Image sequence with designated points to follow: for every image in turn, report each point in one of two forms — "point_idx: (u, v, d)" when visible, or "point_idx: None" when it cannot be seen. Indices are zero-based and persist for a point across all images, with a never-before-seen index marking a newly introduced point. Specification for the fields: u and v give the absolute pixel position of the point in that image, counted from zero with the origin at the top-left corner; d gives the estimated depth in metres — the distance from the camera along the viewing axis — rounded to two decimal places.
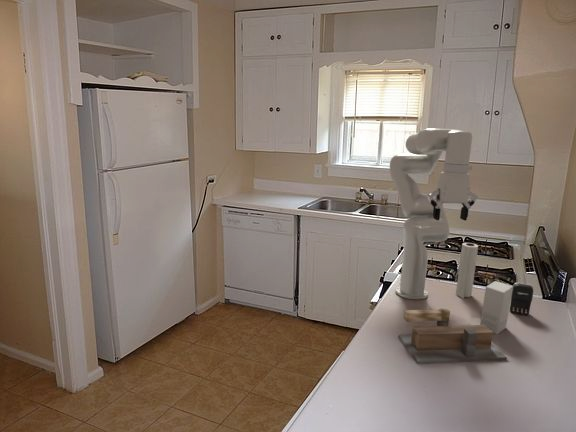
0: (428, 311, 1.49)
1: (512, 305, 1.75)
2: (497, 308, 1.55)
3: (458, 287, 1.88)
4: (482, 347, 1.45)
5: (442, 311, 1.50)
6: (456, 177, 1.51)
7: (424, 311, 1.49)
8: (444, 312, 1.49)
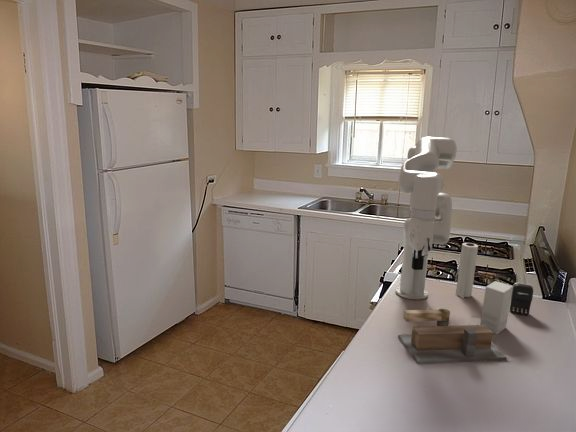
0: (428, 311, 1.49)
1: (512, 305, 1.75)
2: (497, 308, 1.55)
3: (458, 287, 1.88)
4: (482, 347, 1.45)
5: (442, 311, 1.50)
6: None
7: (424, 311, 1.49)
8: (444, 312, 1.49)
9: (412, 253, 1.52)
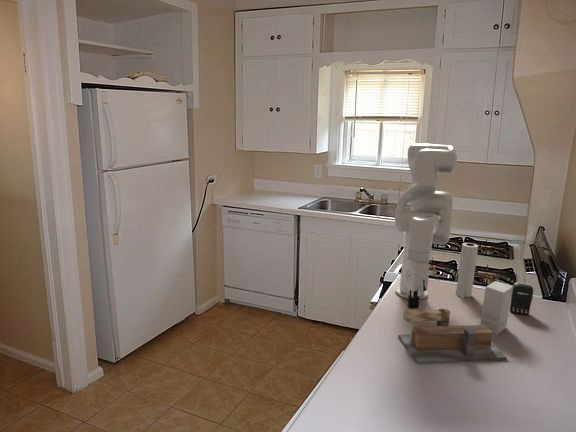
0: (428, 311, 1.49)
1: (512, 305, 1.75)
2: (497, 308, 1.55)
3: (458, 287, 1.88)
4: (482, 347, 1.45)
5: (442, 311, 1.50)
6: None
7: (424, 311, 1.49)
8: (444, 312, 1.49)
9: (408, 292, 1.55)
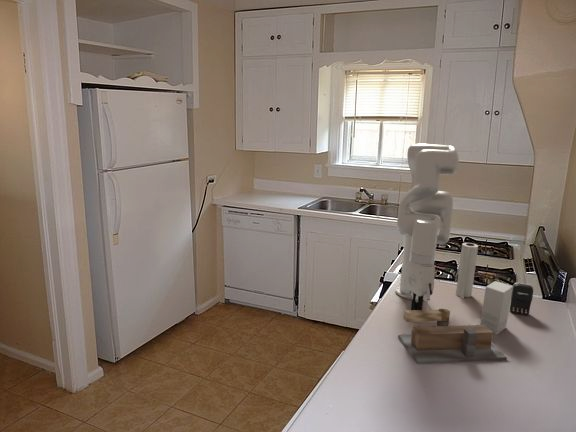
0: (428, 311, 1.49)
1: (512, 305, 1.75)
2: (497, 308, 1.55)
3: (458, 287, 1.88)
4: (482, 347, 1.45)
5: (442, 311, 1.50)
6: None
7: (424, 311, 1.49)
8: (444, 312, 1.49)
9: (411, 296, 1.52)
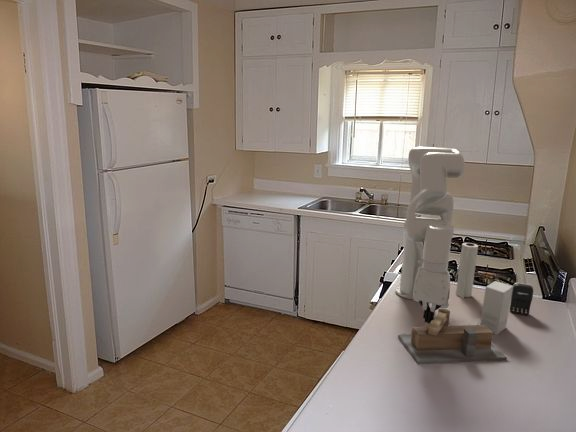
0: (439, 316, 1.46)
1: (512, 305, 1.75)
2: (497, 308, 1.55)
3: (458, 287, 1.88)
4: (482, 347, 1.45)
5: (444, 312, 1.49)
6: None
7: (438, 318, 1.45)
8: (447, 312, 1.49)
9: (423, 307, 1.44)
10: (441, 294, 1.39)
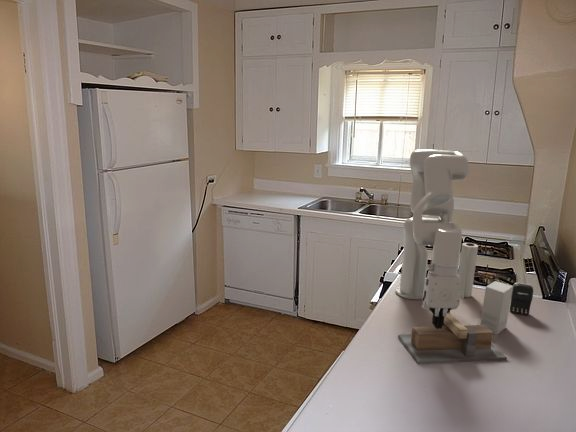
0: (452, 318, 1.45)
1: (512, 305, 1.75)
2: (497, 308, 1.55)
3: None
4: (482, 347, 1.45)
5: None
6: None
7: (454, 320, 1.44)
8: None
9: (435, 314, 1.40)
10: (456, 296, 1.38)
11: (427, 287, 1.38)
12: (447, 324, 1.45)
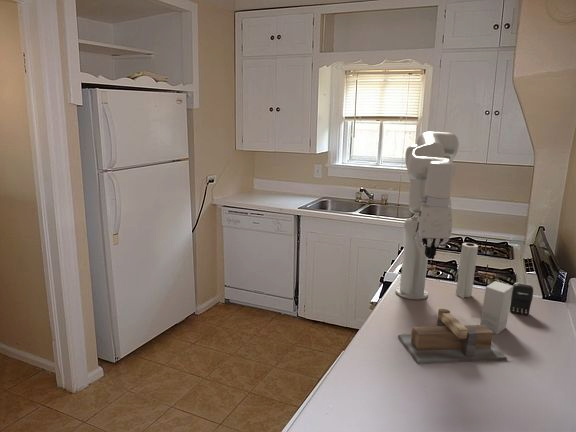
0: (452, 318, 1.45)
1: (512, 305, 1.75)
2: (497, 308, 1.55)
3: (458, 287, 1.88)
4: (482, 347, 1.45)
5: (446, 312, 1.49)
6: None
7: (454, 320, 1.44)
8: (447, 311, 1.50)
9: (427, 244, 1.46)
10: (448, 227, 1.44)
11: (420, 218, 1.44)
12: (447, 324, 1.45)
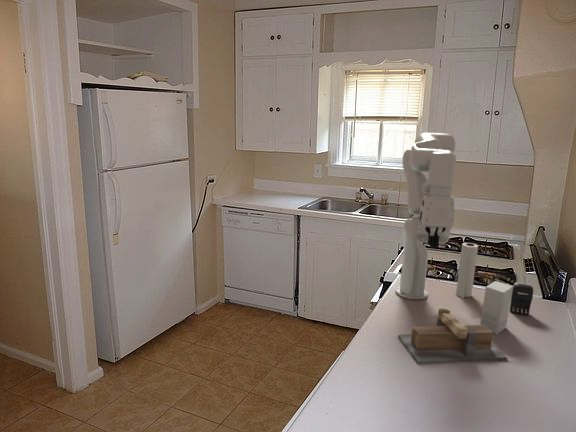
0: (452, 318, 1.45)
1: (512, 305, 1.75)
2: (497, 308, 1.55)
3: (458, 287, 1.88)
4: (482, 347, 1.45)
5: (446, 312, 1.49)
6: None
7: (454, 320, 1.44)
8: (447, 311, 1.50)
9: (430, 233, 1.49)
10: (450, 216, 1.47)
11: (423, 207, 1.48)
12: (447, 324, 1.45)
